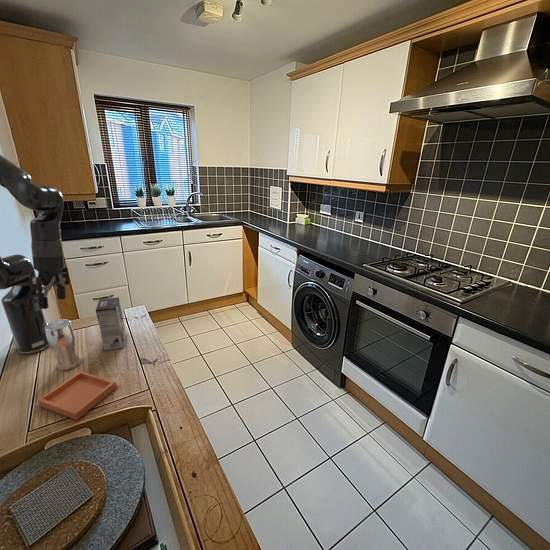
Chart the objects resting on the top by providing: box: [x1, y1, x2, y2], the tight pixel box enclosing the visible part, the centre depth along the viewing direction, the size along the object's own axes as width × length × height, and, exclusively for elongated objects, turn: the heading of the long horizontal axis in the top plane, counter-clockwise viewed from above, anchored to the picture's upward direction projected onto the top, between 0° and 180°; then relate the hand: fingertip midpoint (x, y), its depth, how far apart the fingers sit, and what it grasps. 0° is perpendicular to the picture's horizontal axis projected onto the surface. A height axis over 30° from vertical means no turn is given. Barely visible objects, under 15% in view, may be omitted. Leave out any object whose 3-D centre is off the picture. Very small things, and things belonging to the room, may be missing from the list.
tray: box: [37, 370, 118, 421], centre depth 81 cm, size 14×13×2 cm
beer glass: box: [44, 318, 81, 371], centre depth 92 cm, size 7×7×15 cm
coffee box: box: [95, 296, 127, 351], centre depth 104 cm, size 9×6×16 cm
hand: (53, 303), depth 92 cm, fingers open, 8 cm apart
